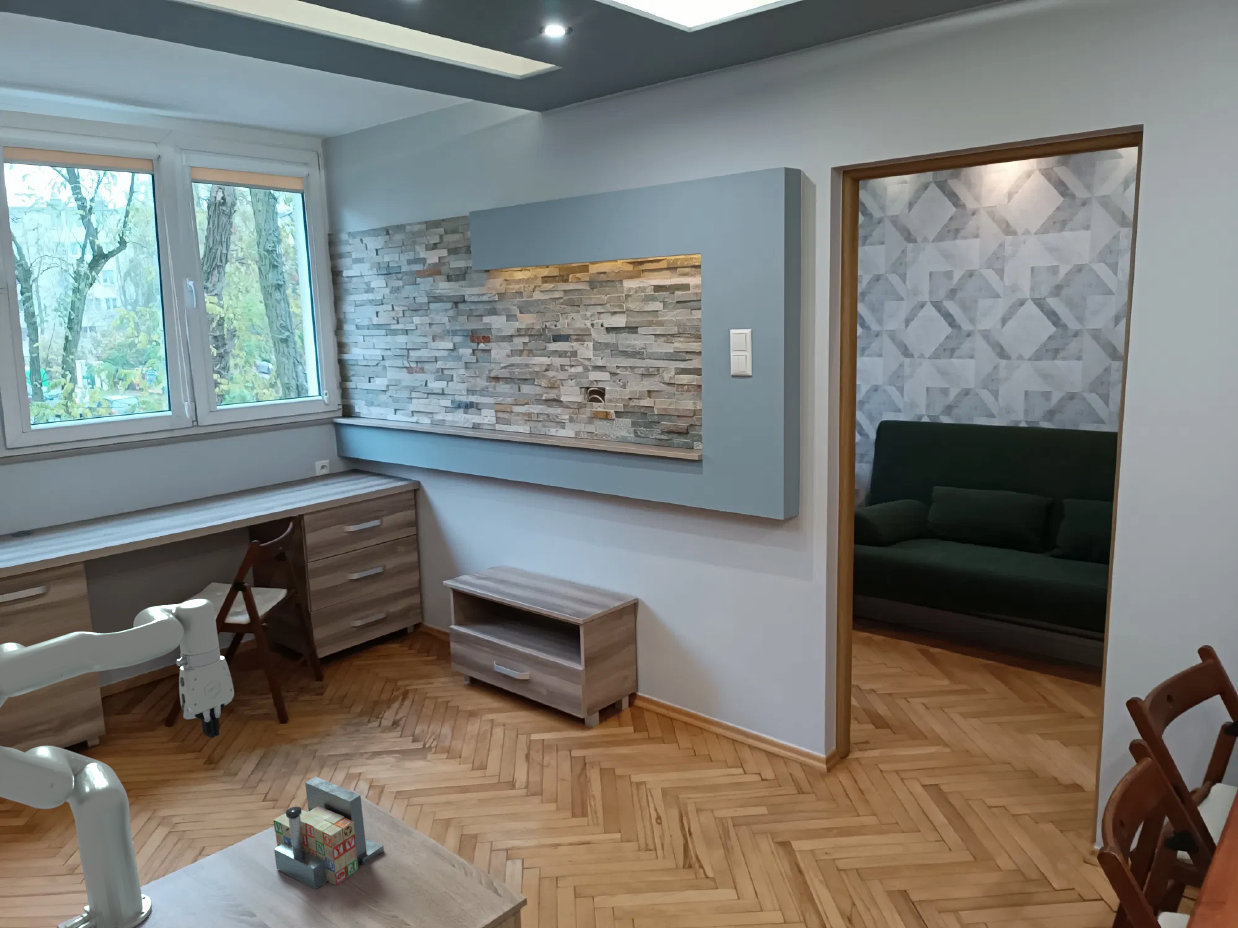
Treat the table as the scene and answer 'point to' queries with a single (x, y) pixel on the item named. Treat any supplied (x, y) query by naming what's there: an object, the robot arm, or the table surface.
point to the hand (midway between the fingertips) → (212, 734)
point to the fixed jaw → (343, 813)
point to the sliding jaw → (300, 856)
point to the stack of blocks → (324, 840)
